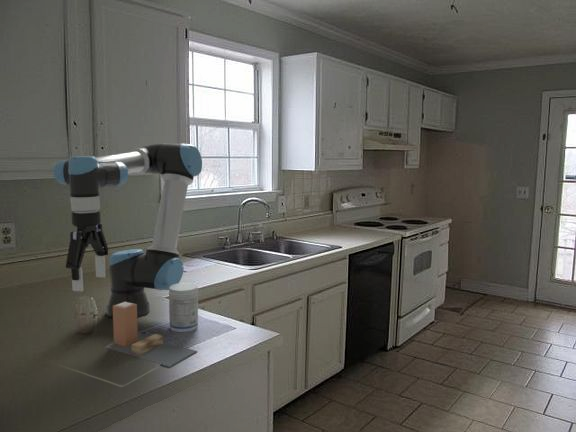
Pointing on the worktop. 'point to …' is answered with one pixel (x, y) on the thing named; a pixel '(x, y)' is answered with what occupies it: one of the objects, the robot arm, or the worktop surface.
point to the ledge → (146, 344)
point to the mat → (158, 353)
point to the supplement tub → (183, 307)
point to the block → (125, 323)
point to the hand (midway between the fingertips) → (90, 283)
